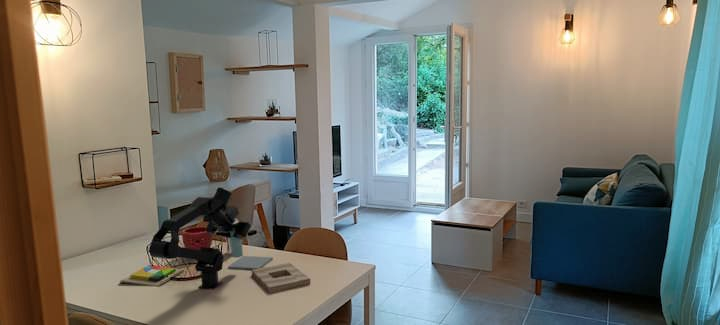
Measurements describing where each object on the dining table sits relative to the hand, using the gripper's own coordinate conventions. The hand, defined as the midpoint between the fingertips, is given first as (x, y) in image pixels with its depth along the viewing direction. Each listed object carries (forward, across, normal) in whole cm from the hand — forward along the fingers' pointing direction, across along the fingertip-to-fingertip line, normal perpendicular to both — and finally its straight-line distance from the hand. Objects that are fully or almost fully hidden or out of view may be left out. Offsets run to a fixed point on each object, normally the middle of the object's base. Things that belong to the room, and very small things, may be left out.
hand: (238, 238), depth 207 cm
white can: (+23, +18, -4) cm, 30 cm away
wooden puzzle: (-3, +29, +23) cm, 37 cm away
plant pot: (+17, +31, +2) cm, 36 cm away
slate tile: (+15, 0, +4) cm, 15 cm away
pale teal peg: (+4, 0, +6) cm, 7 cm away
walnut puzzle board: (+7, -22, +12) cm, 26 cm away
